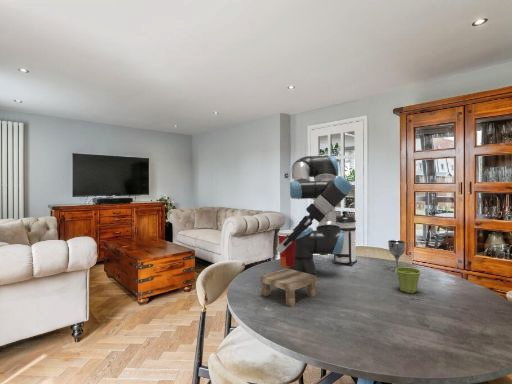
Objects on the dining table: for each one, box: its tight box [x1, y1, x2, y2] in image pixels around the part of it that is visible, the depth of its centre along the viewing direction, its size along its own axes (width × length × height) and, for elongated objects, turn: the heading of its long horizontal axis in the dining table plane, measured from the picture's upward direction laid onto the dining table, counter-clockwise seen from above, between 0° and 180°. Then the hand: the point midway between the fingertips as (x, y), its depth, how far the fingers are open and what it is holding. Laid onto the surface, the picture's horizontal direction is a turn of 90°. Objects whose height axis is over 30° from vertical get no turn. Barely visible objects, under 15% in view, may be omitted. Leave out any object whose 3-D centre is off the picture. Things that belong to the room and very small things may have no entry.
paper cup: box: [276, 229, 296, 268], centre depth 117 cm, size 8×8×14 cm
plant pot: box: [395, 266, 422, 294], centre depth 120 cm, size 9×9×9 cm
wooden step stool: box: [260, 267, 317, 307], centre depth 117 cm, size 16×16×8 cm
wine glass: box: [387, 239, 406, 273], centre depth 149 cm, size 8×8×15 cm
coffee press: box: [331, 210, 358, 267], centre depth 163 cm, size 17×16×30 cm
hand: (279, 248), depth 117 cm, fingers closed on paper cup, 8 cm apart
